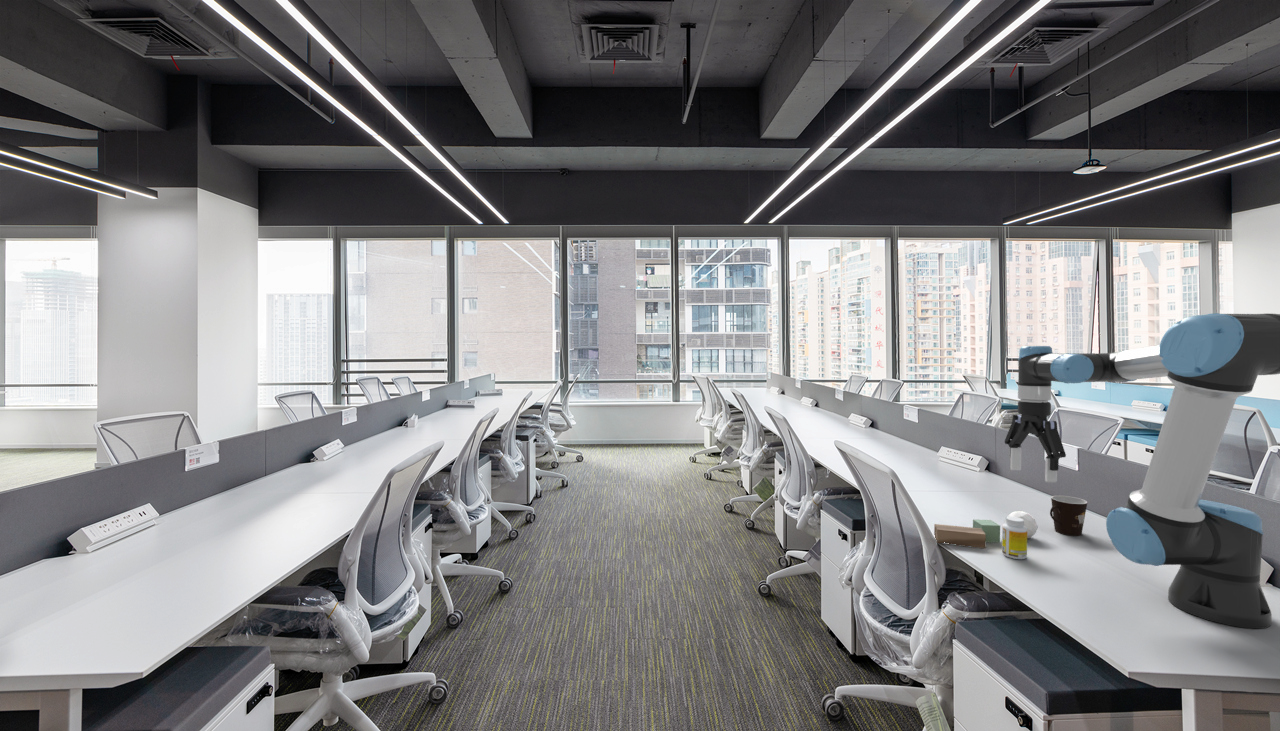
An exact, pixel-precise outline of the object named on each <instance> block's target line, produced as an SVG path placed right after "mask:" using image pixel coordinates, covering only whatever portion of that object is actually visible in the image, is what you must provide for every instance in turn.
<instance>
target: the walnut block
mask: <svg viewBox="0 0 1280 731" xmlns="http://www.w3.org/2000/svg"><path fill="white" fill-rule="evenodd" d="M933 533H934V535H935V538H936V540H937V542H936V543H937V544H941V543H944V542H945V543H949V544H948V545H950V544H956V545H955V546H959V545H961V546H960V547H968V546H971V547H970V548H977V547H978V548H979V549H986V542H985V539H986V534H985V533H984V532H983V530H982V529H981V528H973V527H968V526H960V525H959V526H957V525H950V524H949V525H948V524H940V523H934V532H933ZM934 535H933V536H934ZM935 538H934V539H935ZM936 540H935V541H936Z"/></svg>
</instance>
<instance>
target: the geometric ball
mask: <svg viewBox="0 0 1280 731" xmlns="http://www.w3.org/2000/svg"><path fill="white" fill-rule="evenodd" d="M1007 517H1018V518H1021V519H1023V520H1024V526H1025V527H1026V528H1027V539H1030V538H1032V537H1034V536H1035V535H1036V534H1037V531H1038V529H1039V526H1038V524H1037V522H1036V521H1037V520H1036V518H1034V517H1033V515H1032V514H1030V513H1028V512H1027V511H1022V510H1021V511H1017V510H1016V511H1012V512H1011V513H1009V514H1008V515H1007ZM1005 523H1006V520H1005V521H1004V524H1005Z"/></svg>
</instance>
